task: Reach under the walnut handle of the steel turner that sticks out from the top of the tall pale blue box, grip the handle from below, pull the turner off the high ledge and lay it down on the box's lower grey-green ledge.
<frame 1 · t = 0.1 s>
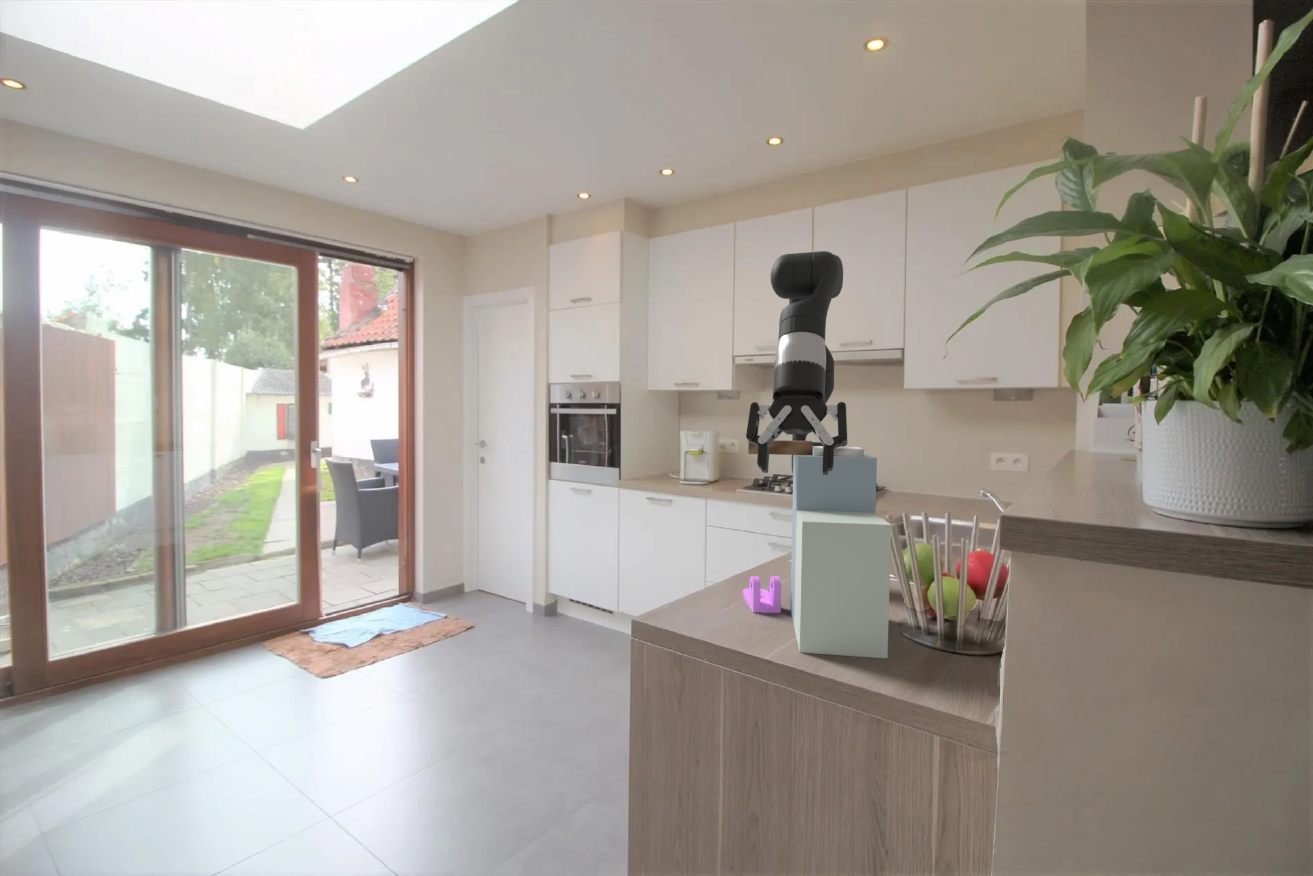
hand: (794, 472, 85), 31 cm above the table, tool tilted 20°, fingers open, 8 cm apart
bracket: (759, 604, 125), on the table
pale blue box: (792, 618, 116), on the table
turner: (795, 454, 115), point 32 cm above the table, touching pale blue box
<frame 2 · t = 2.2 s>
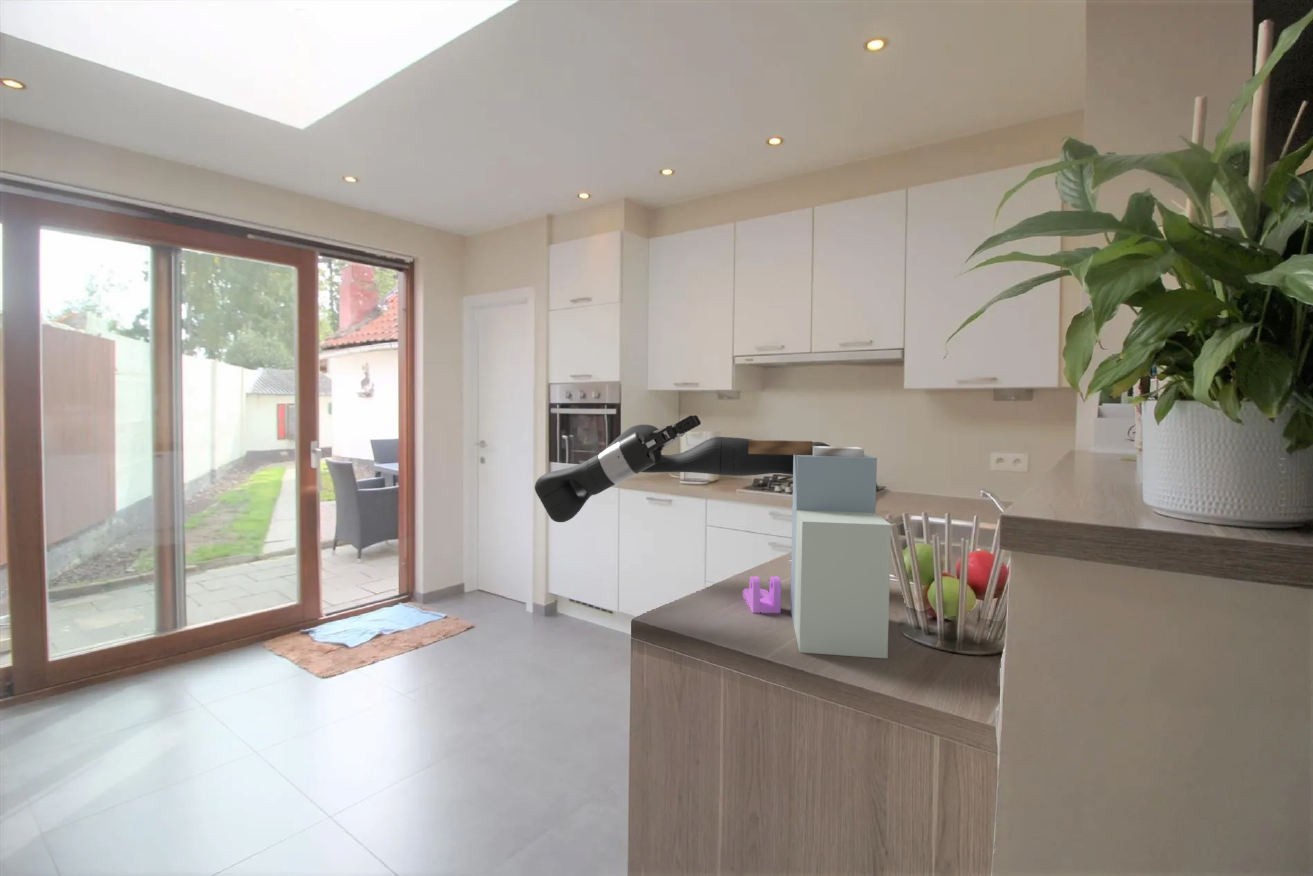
hand: (697, 419, 117), 39 cm above the table, tool pointing upward, fingers open, 8 cm apart
nothing on the table moved.
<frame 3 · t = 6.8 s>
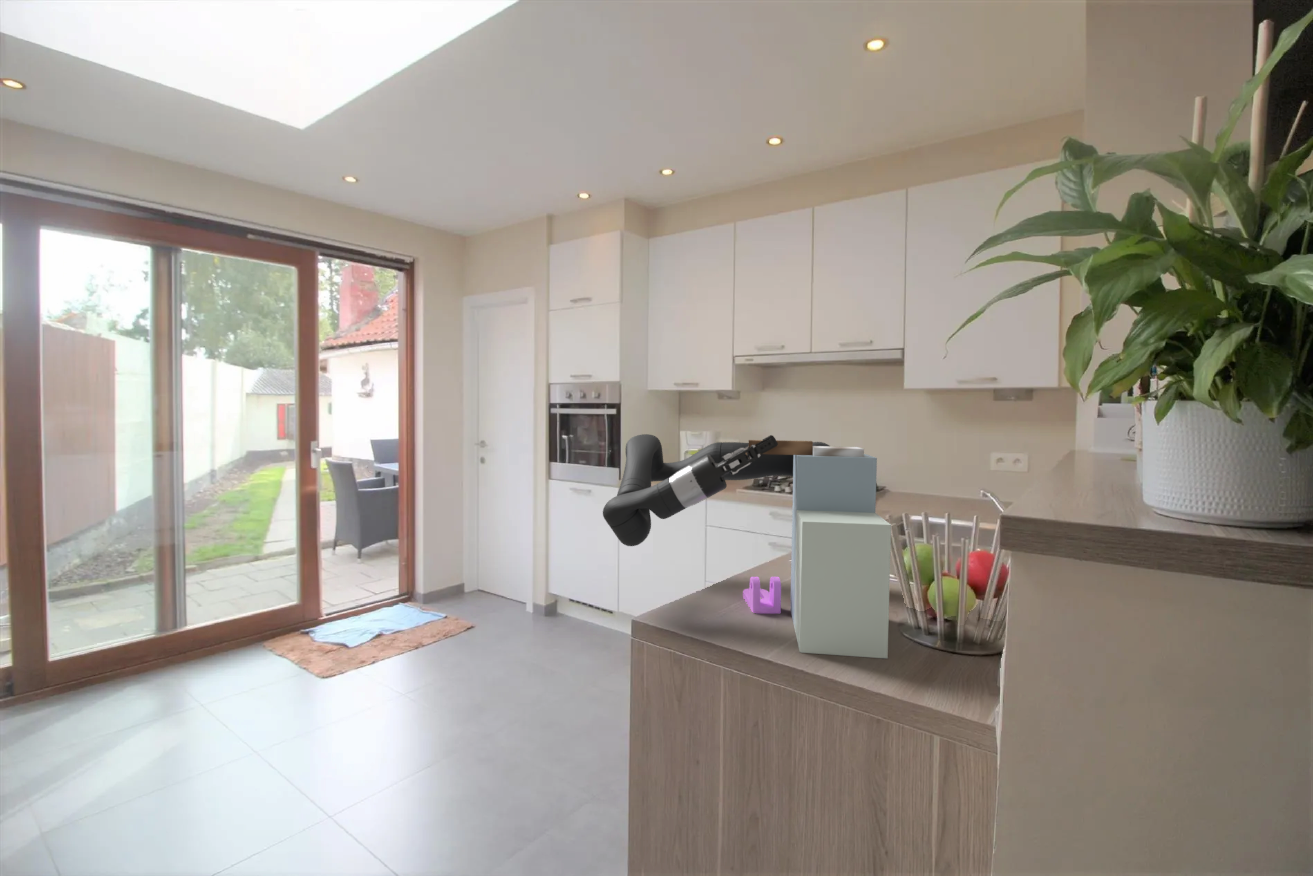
hand: (775, 439, 115), 35 cm above the table, tool pointing upward, fingers closed on turner, 2 cm apart
turner: (795, 454, 115), point 32 cm above the table, touching gripper, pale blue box
everything else where it was.
when the fingers open (26 cm above the table, at t = 15.9 s): turner drops 1 cm, resting on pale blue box.
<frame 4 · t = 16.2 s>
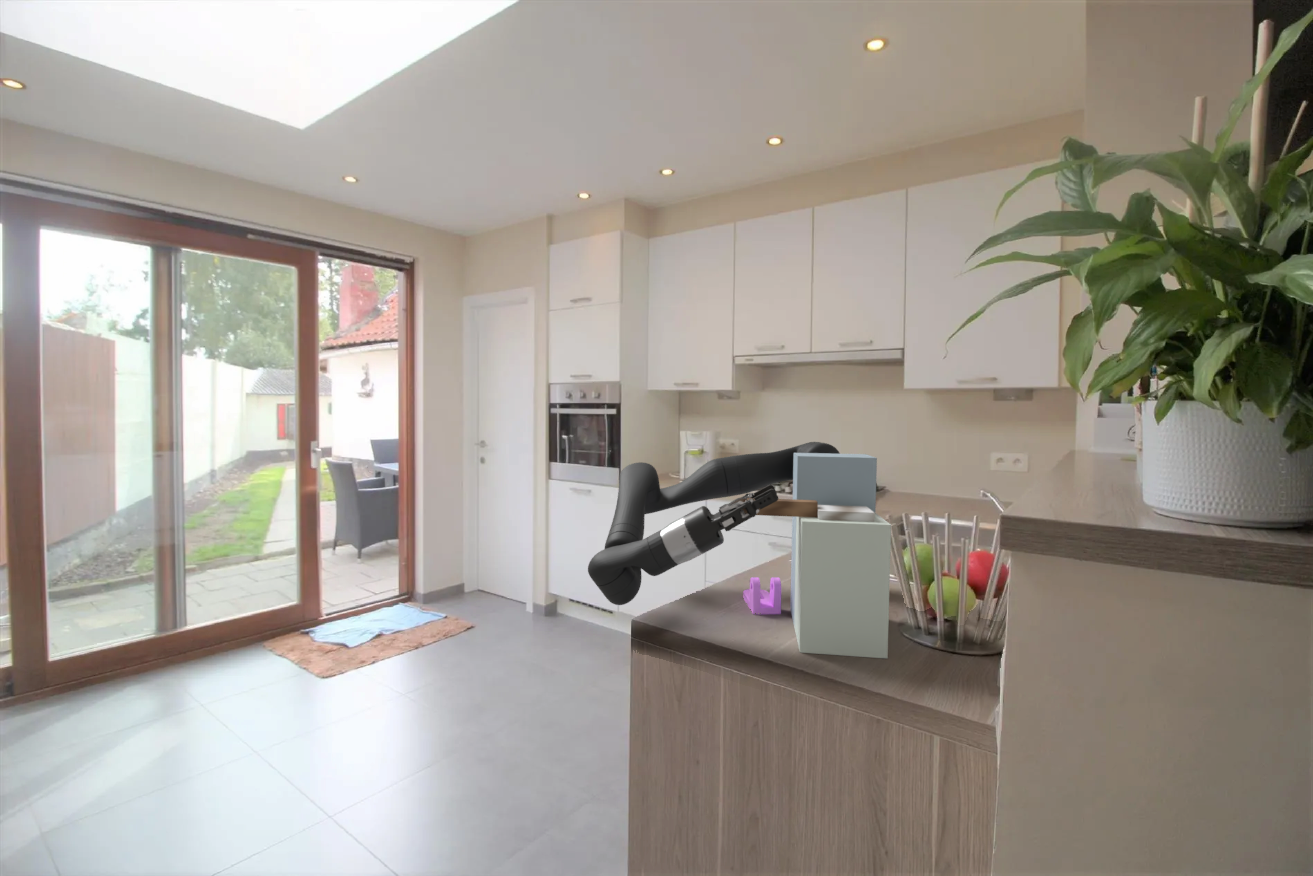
hand: (775, 491, 105), 26 cm above the table, tool pointing upward, fingers open, 5 cm apart
turner: (798, 515, 104), point 22 cm above the table, touching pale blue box
everything else where it was.
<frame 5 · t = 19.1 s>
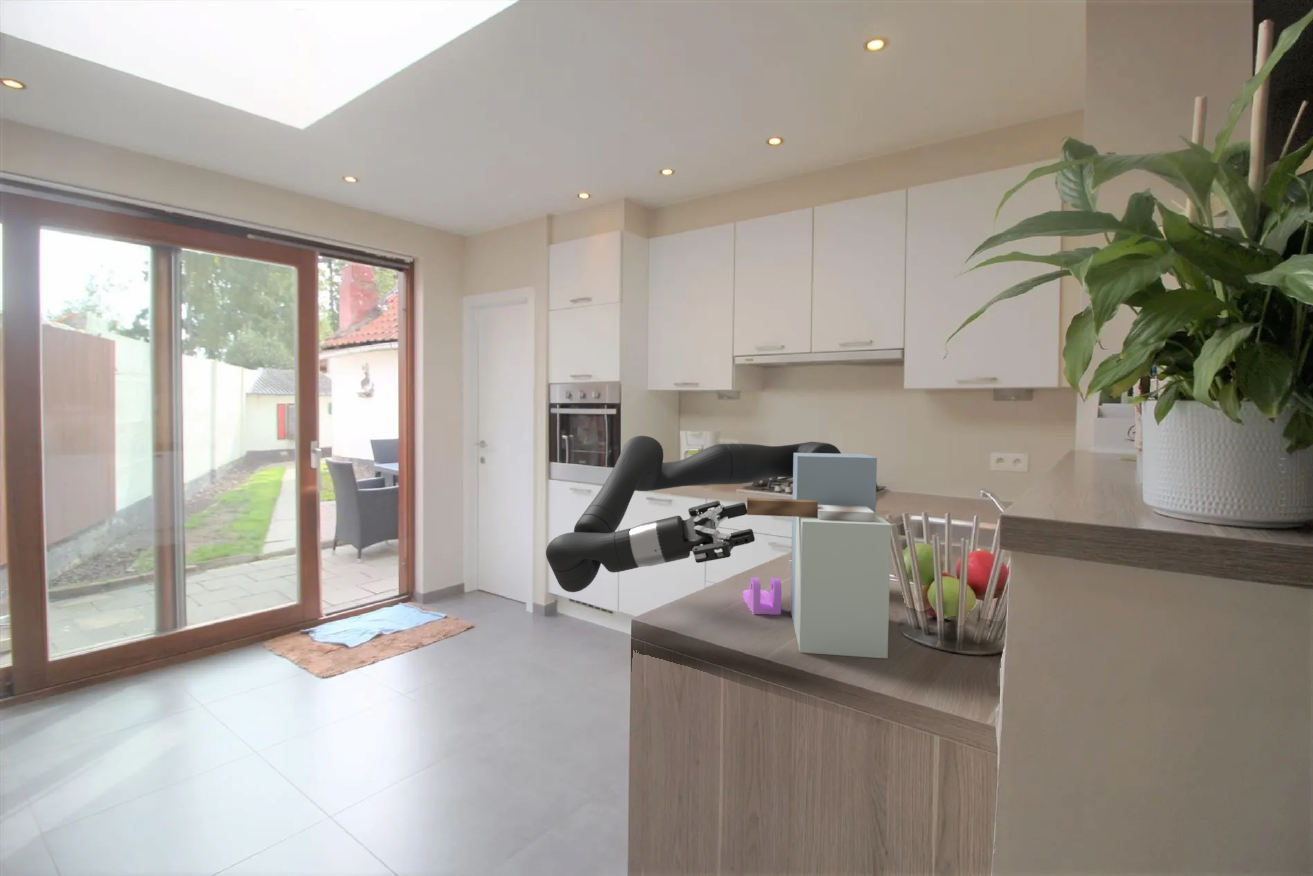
hand: (749, 520, 103), 21 cm above the table, tool horizontal, fingers open, 8 cm apart
turner: (798, 515, 104), point 22 cm above the table, touching gripper
everything else where it was.
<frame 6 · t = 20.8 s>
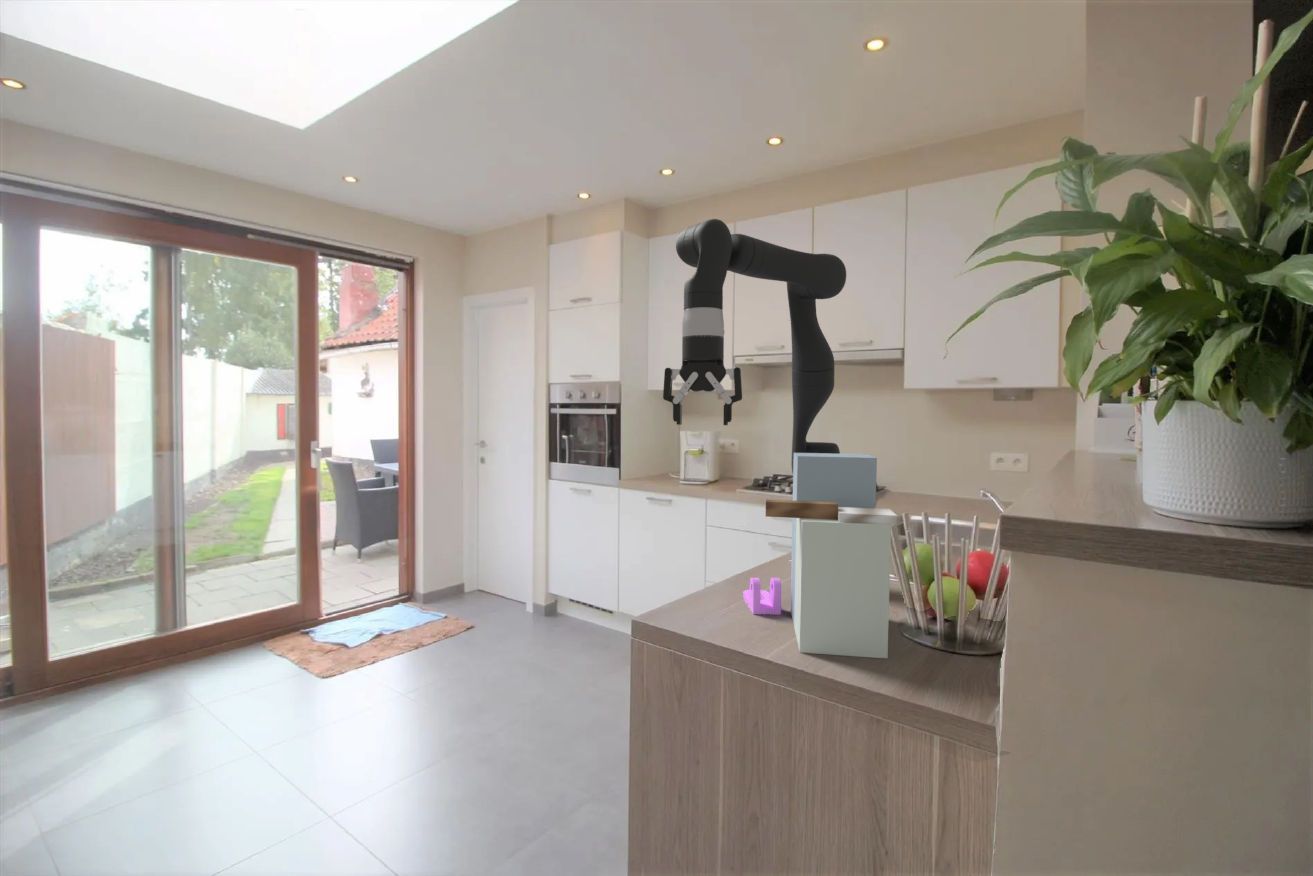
hand: (702, 424, 109), 38 cm above the table, tool pointing down, fingers open, 8 cm apart
turner: (818, 517, 102), point 22 cm above the table, touching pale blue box
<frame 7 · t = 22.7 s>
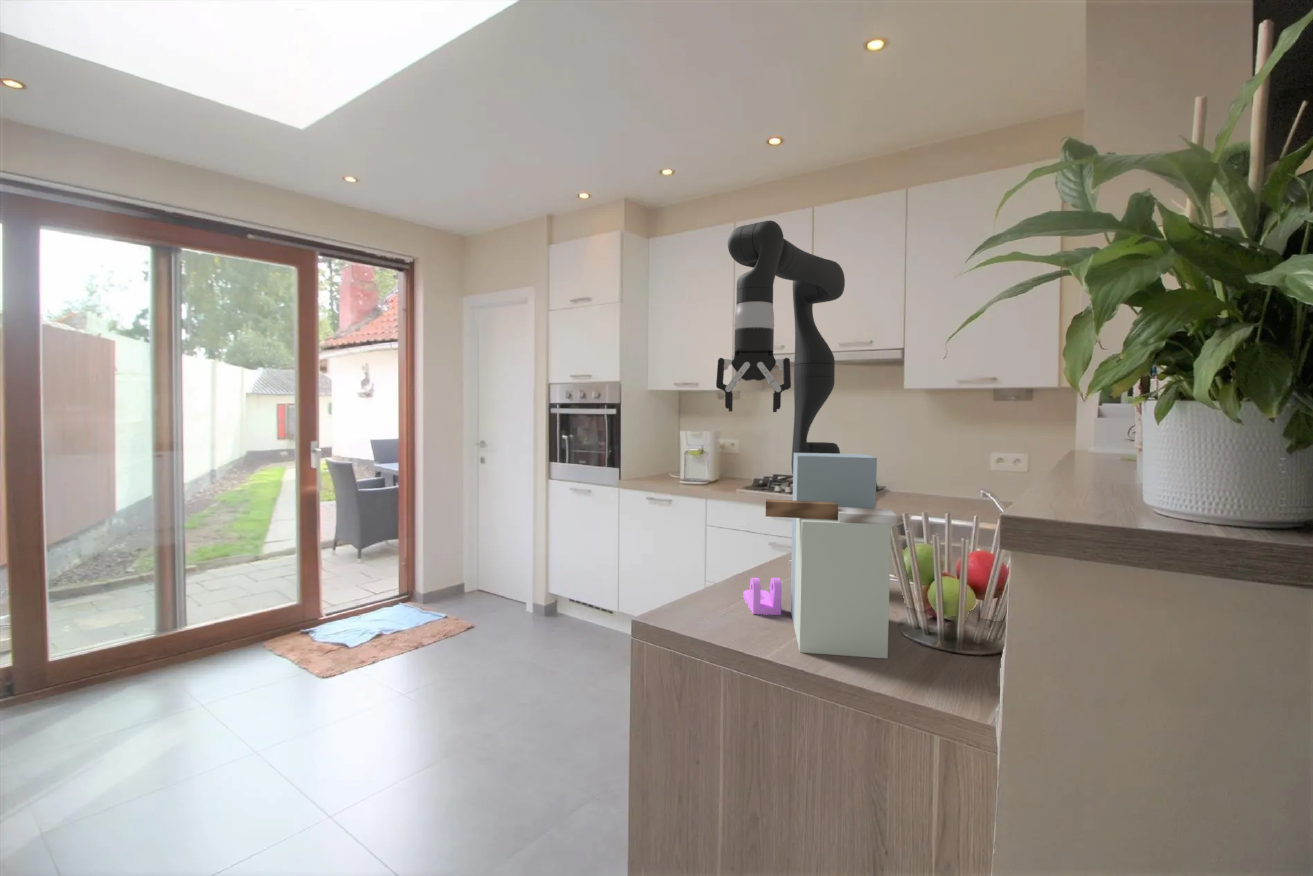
hand: (752, 411, 116), 40 cm above the table, tool pointing down, fingers open, 8 cm apart
at the end: turner inside the target area (3.6 cm from its centre), point 22.0 cm above the table; turner tilted 0°; the gripper is holding nothing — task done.
